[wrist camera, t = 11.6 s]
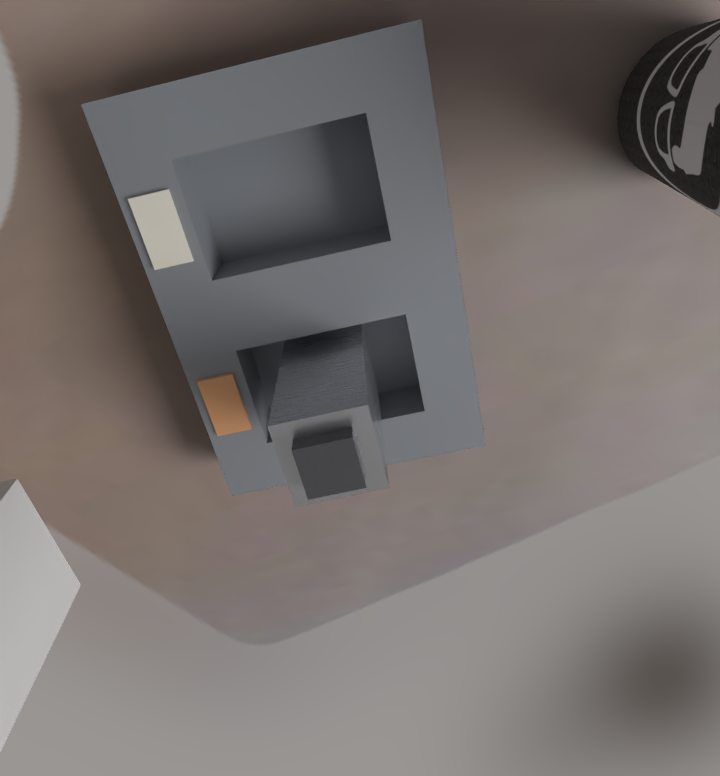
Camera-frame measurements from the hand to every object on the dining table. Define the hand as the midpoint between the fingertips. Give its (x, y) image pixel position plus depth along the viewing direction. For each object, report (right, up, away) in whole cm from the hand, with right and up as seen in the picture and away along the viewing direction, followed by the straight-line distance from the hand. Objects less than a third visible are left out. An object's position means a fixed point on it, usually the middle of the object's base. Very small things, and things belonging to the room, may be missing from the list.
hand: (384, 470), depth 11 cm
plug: (-2, +3, +23) cm, 23 cm away
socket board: (-3, +7, +21) cm, 23 cm away
